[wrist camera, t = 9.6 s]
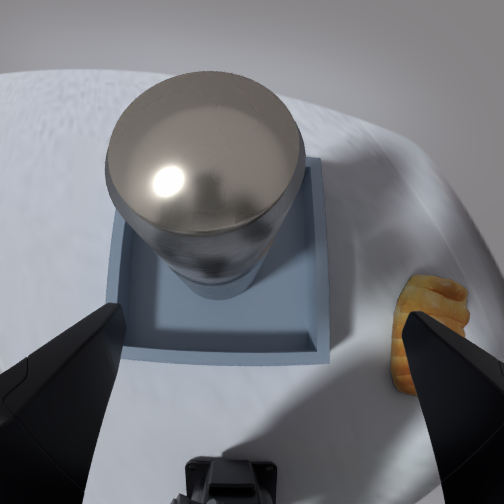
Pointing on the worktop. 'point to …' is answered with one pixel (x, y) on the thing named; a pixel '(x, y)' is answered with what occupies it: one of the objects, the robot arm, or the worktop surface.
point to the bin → (234, 309)
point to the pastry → (435, 305)
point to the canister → (206, 176)
